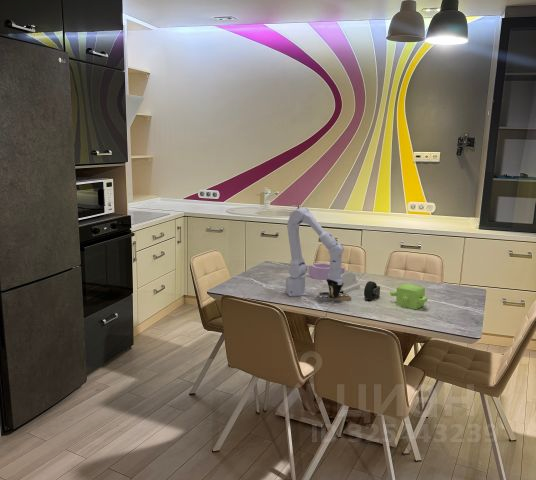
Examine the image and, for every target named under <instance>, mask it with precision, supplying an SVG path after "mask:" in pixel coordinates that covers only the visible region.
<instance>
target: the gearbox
mask: <svg viewBox="0 0 536 480" xmlns="http://www.w3.org/2000/svg"><path fill="white" fill-rule="evenodd" d="M425 291H426V287H423V286H420V285H415V284H412V283H411V284H410V283H402V284H400V285H399V286H397V287H396V291H390V297H396V300H395V302H396V303H395V304H396V306H399V307H403V308H407V309H412V310H418V309H420V308H422V307H423V306H425V303H427V302H428V296H425V293H426V292H425Z"/></svg>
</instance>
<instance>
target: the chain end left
mask: <svg viewBox="0 0 536 480" xmlns="http://www.w3.org/2000/svg"><path fill="white" fill-rule="evenodd" d="M317 299H318V300H317ZM316 300H317V301H319V303H330V302H329V301H339V302H342V301H341V298H330V297H329V296H328V295H319V294H318V295H316Z"/></svg>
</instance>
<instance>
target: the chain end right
mask: <svg viewBox="0 0 536 480" xmlns="http://www.w3.org/2000/svg"><path fill="white" fill-rule="evenodd" d="M328 296H329V297H331V295H328ZM338 298H341V301H340V302H351V301H352V296H350V295H349V294H348V293H346V294H344V293H342V294H341V293H339V296H338Z"/></svg>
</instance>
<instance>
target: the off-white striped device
mask: <svg viewBox="0 0 536 480" xmlns="http://www.w3.org/2000/svg"><path fill="white" fill-rule="evenodd" d="M341 276H342V277H343V279H341V280H342V283H343V286H342V288H341V290H340V292H339V293H341V292H343V293H342V294H348V293H350V292H353V291H356V290H358V289H361V285H360V283H358V281H357V277H356V275H355V273H354V272H345V273H342V274H341Z"/></svg>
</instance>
